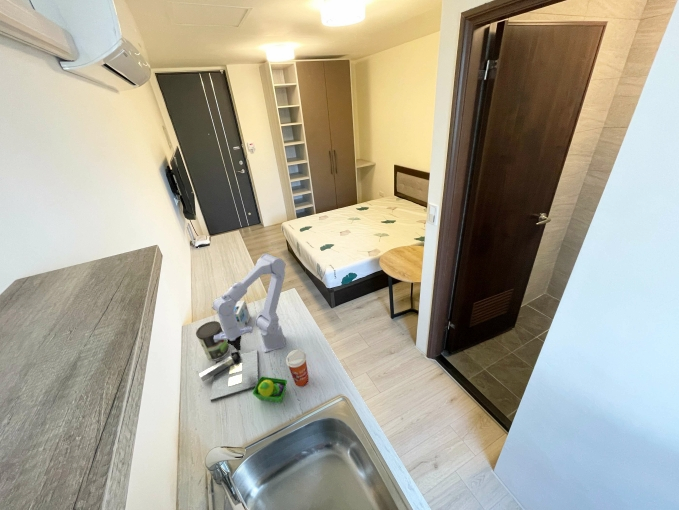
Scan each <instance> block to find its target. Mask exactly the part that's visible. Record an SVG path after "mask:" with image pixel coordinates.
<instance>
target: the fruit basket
mask: <svg viewBox="0 0 679 510" xmlns="http://www.w3.org/2000/svg"><path fill="white" fill-rule="evenodd" d="M287 383H288V380H287V379H283V378H277V377H268V376H260V377H259V378H258V383H257V385H256V387H255V388H254V389H253V391H252V395H253V396H255V397H256V398H257V399H258V400H260V401H266V402H272V403H279V404H281V403H282V401H283V399H284V397H285V393H286V391H287Z"/></svg>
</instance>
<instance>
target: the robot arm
mask: <svg viewBox="0 0 679 510" xmlns="http://www.w3.org/2000/svg"><path fill="white" fill-rule="evenodd" d="M256 260H257V261H256V264H255V265H254V267H253V268H251V270H250V271H249V272H248V273H247V274H246V275H245V276H244V277H243V279H242V280H241V281H238V282H235V283H233V284H231V287H229V289H227V290H226V291H225V292H224V294H222V295H221V296H219V297H217V298H215V299H214V300H213V303H212V305H211V306H212V307H211V308H212V310H214V311H215V312H216V314H217V316H218V320H219V323H220V324H221V328H222V330H223V332H222V333H220V334H218V335H214V341H215V342H218V340H227V343H228V345H229V346H231V347H233V348H234V350H237V351H239V352H240V351H241V349H242V348H241V341H242V336H243V335H246V334H253V326H246V327H239V325H238V322H237V319H236V316H235V313H234V309H235V306H236V304H237V302H238V301H241V299H242V298H243V297H244V296H245V295H247V293H248V288H249V287H250V286H251V285H252V284H253V283H255V282H256V281H257V280H258V279H259V278H260V277H261V276H262V275H270V276H271V277H270V281H269V286H268V289H267V294H266V298H265V302H264V306H263V309H262V310H260V311H259V312H258V315H257V316H256V318H255V321H254V325H255V326H256V327H257V328H258V329H259V332H260V335H261V338H262V341H263V350H264V353H268V352H271V351H274V350H280V349H283V348H285V347H286V341H285V339H286V338H285V335H284V332H283V329H282V328H283V327H282V325H279V320H280V318H279V315H278V314H277V308H278V304H279V301H280V297H281V293H282V292H281V291H282V288H283V284H284V280H285V276H286V272H285V271H286V270H285V269H286V262H285V261H284V260H283V258H279V257H277V256H274V255H271V254H270V253H263V254H261V256H260V257H259V258H258V259H256Z"/></svg>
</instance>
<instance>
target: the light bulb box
mask: <svg viewBox="0 0 679 510" xmlns="http://www.w3.org/2000/svg"><path fill="white" fill-rule="evenodd" d="M234 313H235V316H236V319H237V322H238V325H239V327H247V324H248V322H249V321H250V318H251V314H250V311H249V307H248V306H247V302H246V300H239V301H238V302H237V304H236V306H235V309H234Z"/></svg>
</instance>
